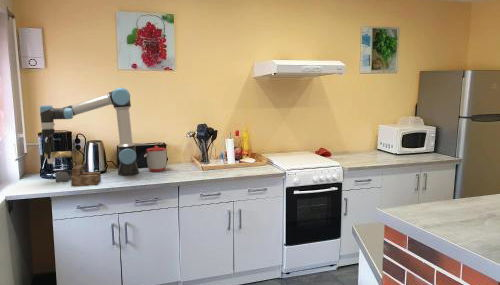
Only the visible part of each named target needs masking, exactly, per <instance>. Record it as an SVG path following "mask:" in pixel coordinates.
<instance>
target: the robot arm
mask: <svg viewBox="0 0 500 285" xmlns="http://www.w3.org/2000/svg"><path fill="white" fill-rule="evenodd" d="M110 105H111V106H113V109H114V110H116V111H115V113H116V120H117V121H116V122H117V127H118V128H117V130H118V136H119V137H118V138H119V144H118V145H117V149H118V151H117V152H118V160H119V166H118V170H117V175H119V176H123V177H124V176H136V175H138V174H139V173H140V170H139V168H138V165H137V151H136V144H135V143H134V142H133V135H132V134H133V133H132V125H131V117H130V116H131V114H130V109H131V107H132V103H131V94H130V91H128V90H127V88H125V87H116V88H115V89H114V90H112V91H110V92H107V94H104V95H101V96H98V97H95V98H91V99H88V100H87V99H86V100H85V101H81V102H78V103H74V104H72V105H68V106H63V107H53V105H49V104H48V105H47V104H46V105H40V106H39V114H40V115H39V116H40V123H41V124H40V127H41V135H43V136H45V137H44V139H43V143H44V144H43V145H44V153H45V154H47V158H46V160H47V161H46V162H47V164H48V165H49V164H51V165H52V164H53V163H55V158H52V154H51V152H56V150H55V137H54V136H53V135H54V134H55V133H56V132H55V131H56V130H55V123H54V120H72V119H73V118H74V116H77V115H80V114H85V113H88V112H90V111H94V110H97V109H101V108H104V107H107V106H110Z"/></svg>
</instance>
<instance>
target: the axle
mask: <svg viewBox="0 0 500 285" xmlns="http://www.w3.org/2000/svg"><path fill="white" fill-rule="evenodd" d="M51 154H52V158H54V159H58V158H72V151H71V150H66V151H55V152H51ZM43 155H44V158H45V159H47V154H45V152H44V154H43Z"/></svg>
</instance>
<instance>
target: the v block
mask: <svg viewBox="0 0 500 285" xmlns="http://www.w3.org/2000/svg"><path fill="white" fill-rule="evenodd" d="M54 174H55V182H56V183H66V182H71V176H72V169H71V170H60V169H59V170H58V172H54Z"/></svg>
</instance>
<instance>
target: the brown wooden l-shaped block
mask: <svg viewBox="0 0 500 285" xmlns="http://www.w3.org/2000/svg"><path fill="white" fill-rule="evenodd" d="M75 165H76V164H75ZM75 165H74V166H75ZM74 166H73V167H74ZM73 167H71V168H72V169H71V180H70V185H71V187H72V186H73V187H90V186H89V185H95V186H98V185H99V184H100V183H101V180H102V178H101V171H93V172H91V171H90V172H88V171H86V172H84V165H83V164H77V165H76V166H75V167H74V168H73ZM99 182H100V183H99Z"/></svg>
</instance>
